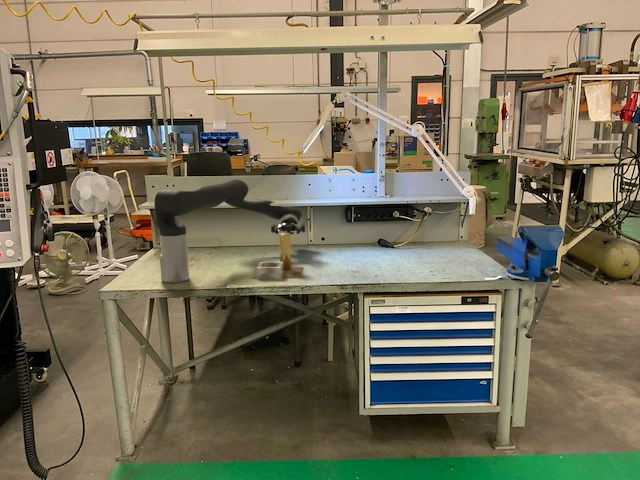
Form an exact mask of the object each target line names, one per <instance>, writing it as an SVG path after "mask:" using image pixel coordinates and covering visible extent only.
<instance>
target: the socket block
mask: <svg viewBox="0 0 640 480" xmlns="http://www.w3.org/2000/svg"><path fill="white" fill-rule="evenodd" d="M304 268H305V267H304V266H295V267H293V266H291V270H284V269H283V262H280V261H259V262H258V264H257V266H256V267H255V269H254V271H253V272H252V274H251V275H250V277H249V279H250V280H269V279H270V280H272V279H273V280H274V279H276V280H277V279H278V280H279V279H280V280H281V279H283V280H284V279H285V280H286V279H290V280H291V279H292V280H293V279H297V280H298V279H300V280H301V279H303V276H304V270H305V269H304Z"/></svg>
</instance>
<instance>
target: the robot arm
mask: <svg viewBox="0 0 640 480" xmlns="http://www.w3.org/2000/svg"><path fill="white" fill-rule="evenodd" d="M249 189H250V188H249V186H248V184H247V183H246V182H245V181H243V180H241V179H230V180H227V181H223V182H220V183H219V182H218V183H215V184H214V183H213V184H206V185H205V184H204V185H200V186H198V187H196V188H195V189H194V190H177V189H161V190H159V191H157V193H156V195H155V197H154V211H155V218H156V220H155V221H156V227H157V228H158V230H159V242H160V250H161V251H160V252H161V253H160V254H161V255H159V264H160V276H161V277H160V278H161V282H165V283H174V284H175V283H181V282H182V283H183V282H185V281H188V280H189V279H190V269H189V267H190V266H189V256H188V253H189V251H188V242H187V241H188V239H187V237H188V236H187V228H186V225H184V224H183V223H181V222H179V220H178V219H176V217H180V216H184V215H187V214H189V213H191V212H195V211H197V210H198V211H199V210H201V211H202V210H207V209H212V208H216V207H218V206H220V205H221V204H223V203H225V204H227V205H228V206H231V207H234V208H237V209H239V210H240V209H241V210H245V211H250V212H255V213H258V214H261V215H265V217H266V216H267V217H269V218H271V219H274V220H277V221H280V220H281V219H282V220H281V222H280V224H278V225H277V224H275V223H274V224H272V225H271V226H270V233H272V234H273V233H274V234H276V235H279V233H291V235H294V234H295V233H296V235H299V234H301V232H302V233H306V224H305V223H302V224H299V221H300V220H301V218H302V216H303V214H302V211H301V209H299V208H297V207H295V206H286V207H281V206H282V205H281V206H271V205H269V204H271V203H275V202H274V201H272V200H268V199H267V200H266V199H265V200H263V199H262V200H261V199H260V200H245V198H246V196H247V195H248V193H249Z"/></svg>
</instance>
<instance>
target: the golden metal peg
mask: <svg viewBox="0 0 640 480" xmlns="http://www.w3.org/2000/svg"><path fill="white" fill-rule="evenodd" d="M278 235H279V236H278V238H279V239H278V240H279V241H278V242H279V243H278V245H279V262H283V269H284V270H291V267H292V238H291V237H292V234H291V233H278Z"/></svg>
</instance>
